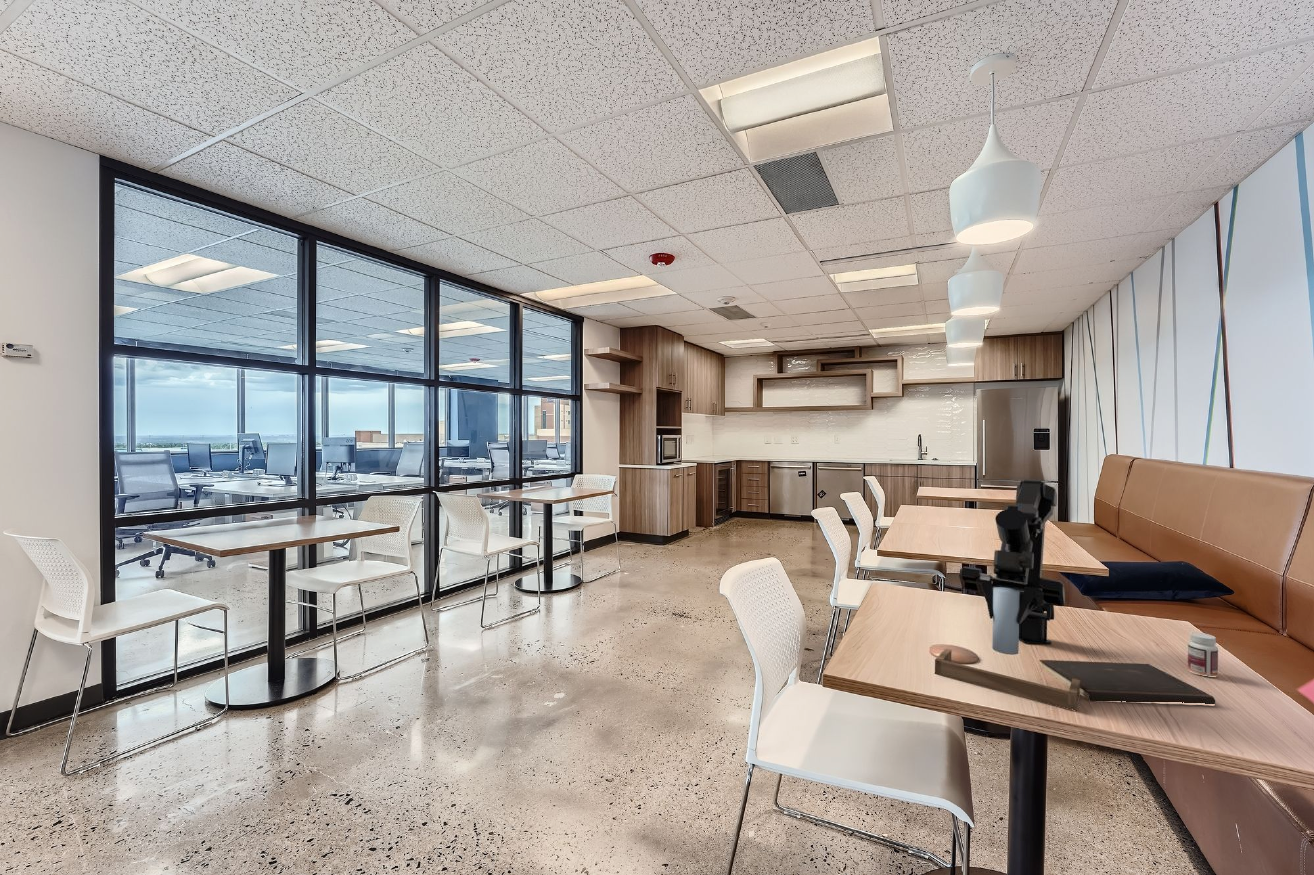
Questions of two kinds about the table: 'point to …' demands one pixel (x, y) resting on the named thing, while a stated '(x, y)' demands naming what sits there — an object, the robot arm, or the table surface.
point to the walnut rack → (1008, 683)
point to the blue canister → (1005, 620)
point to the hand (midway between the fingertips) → (1004, 620)
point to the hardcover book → (1125, 682)
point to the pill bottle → (1203, 654)
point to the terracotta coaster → (955, 653)
